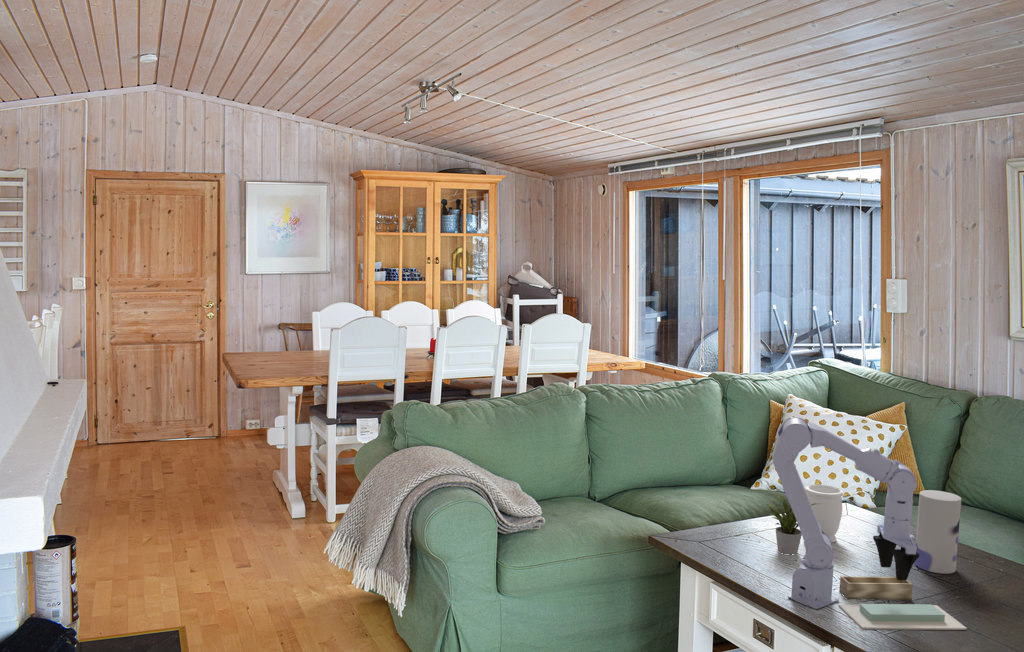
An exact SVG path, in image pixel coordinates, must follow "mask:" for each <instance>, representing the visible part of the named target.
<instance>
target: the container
mask: <svg viewBox="0 0 1024 652" xmlns="http://www.w3.org/2000/svg"><path fill="white" fill-rule="evenodd" d="M961 507H962V497H961V496H960V495H958V494H955V493H952V492H947V491H943V490H933V489H928V490H927V489H926V490H922V491H920V492H919V498H918V507H917V508H918V509H917V510H918V511H917V523H916V524H917V525H916V536H915V545H916V546H917V548H916V552H918V553H919V558H918V559H917V560H916V561H915V562H914V563H915V564H914V565H915V566H916V567H917V566H918V568H919V569H921V570H924V571H926V572H931V573H936V574H953V573H956V570H957V561H958V560H957V559H958V547H959V546H958V545H959V535H960V534H959V533H960V520H961Z"/></svg>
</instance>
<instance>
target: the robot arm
mask: <svg viewBox="0 0 1024 652" xmlns="http://www.w3.org/2000/svg"><path fill="white" fill-rule="evenodd" d="M777 431H778V432H777V435H776V436H777V437H776V441H775V444H774V449H773V452H772V456H771V457H772V463H773V466H774V469H775V470H776V473H777V476H778V479H779V481H780V483H781V485H782V488H783V491H784V493H785V495H786V498H787V501H788V503H789V506H790V505H791V508H792V510H793V513H794V515H795V518H796V520H797V522H796V523H798V525H799V526H798V529H799V530H801V533H802V536H801V538H802V539H803V545H804V549H805V554H804V555H803V556H802V557H801V563H800V565H799V566H798V568H796V569H795V570H794V571H793V573H792V581H791V583H792V584H791V594H789V595H788V596H787V597H788V599H790V598H791V599H790V600H792V599H793V600H792V601H795V602H798V603H800V604H802V605H804V606H807V607H809V608H812V609H814V610H819V609H821V608H824V607H826V606H828V605H832V604H833V603H836V602H839V601H840V598H839V597H836V596H834V595H832V594H833V582H834V581H833V580H834V559H835V552H834V549H833V547H832V543H831V540H830V538H829V536H828V535H827V534H826V533H825V532H824V531H823V530H822V528H821V526H820V524H819V522H818V520H817V518H816V515H815V513H814V510H813V508H812V506H811V503H810V501H809V498H808V496H807V492H806V491H805V486H804V484H803V481H802V479H801V476H800V474H799V471H798V469H797V467H796V464H795V461H796V459H797V457H798V456H799V454H800V453H801V452H802V451H804V450H805V449H806V447H808V445H810V448H812V449H813V448H818V447H819V448H820V447H824V448H826V449H829V450H830V451H833V452H834V453H837V454H838V455H841V456H842V457H844V458H847V459H849V460H851V461H852V462H854V465H855V468H856V469H857V470H858V471H860V472H862V473H864V474H865V475H867V476H869V477H871V478H873V479H875V480H877V481H878V482H880V483H885V484H887V492H886V496H885V505H884V507H885V508H884V516H883V517H884V518H883V524H878V525H877V527H876V528H877V529H876V532H877V533H878V535H873V536H872V538H873V541H874V544H875V546H876V549H877V552H878V558H879V565H880V567H881V568H891V567H892V565H893V558H894V563H895V577H896V578H897V580H908V577H909V574H910V572H911V570H912V567H913V565H915V564H914V562H915V561H916V560H917V559H918V558H919V553H918V552H916V548H917V546H916V544H915V543H914V541H913V540H916V536H915V535H913V534H911V526H912V516H913V505H914V504H913V503H914V499H913V496H914V492H915V490H916V489H917V487H918V482H917V479H916V476H915V474H914V473H913V471H912V470H911V469H910V467H908V466H906V464H904V463H902V462H900V460H897V459H894V460H893V459H891V458H889V457H887V456H886V455H883V454H881V450H879V449H878V448H877V447H876V448H875V447H874V448H873V449H872V448H870V447H867V448H859V447H857V446H856V445H853V444H852V443H850V442H848V441H846V440H845V439H843V438H841V437H840V436H838V435H836V434H834V433H833V432H831V431H830V430H827V429H825V428H824V427H821V426H820V425H818V424H816V423H814V422H811V421H807V420H805V419H804V418H802V417H799V416H791V417H789V418H787V419H786V420H784V422H783V423H782V425H781V426H780V427H779V428H778V430H777ZM897 546H898V547H899V548H900V549H897V548H896V547H897Z"/></svg>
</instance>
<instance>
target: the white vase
mask: <svg viewBox="0 0 1024 652" xmlns="http://www.w3.org/2000/svg"><path fill="white" fill-rule="evenodd" d="M804 488H805V491H806V493H807V496H808V498H809V501H810V503H811V504H815V503H819V504H815V505H813V506H812V508H813V510H814V513H815V515H816V518H817V520H818V522H819V524H820V526H821V528H822V530H823V531H824V532H825V533H826V534H827V535H828V536H829V538H830V540H831V544H832V543H835V542H837V537H836V534H837V532H838V531H839V528H840V523H841V520H842V515H843V500H842V497H843V496H844V491H843V489H841V488H838V487H835V486H831V485H825V484H807V485H806V486H804Z"/></svg>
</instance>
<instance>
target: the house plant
mask: <svg viewBox="0 0 1024 652" xmlns="http://www.w3.org/2000/svg"><path fill="white" fill-rule="evenodd" d="M776 496H777V497H779V500H780V501H781V503H782V505H783V509H782V508H781V507H780V506H779V505H778V504H777V503H776V502H775V501H773V500H772V499H770V498H768V500H769V501H771V502H772V503H773V504H774V506H775V507H776V508H777V509H776V508H774V507H773V506H772V505H771V504H769V503H767V504H766V505H767V506H768V508H769V509H770V511H771V512H772V513H770V514H768V516H771V518H772V519H776V520H778V521H779V522H776V523H775V525H774V526H776V525H779V526H777V527H776V528H775V536H776V545H777V546H776V547H777V552H778V551H779V552H780V553H779V552H778V553H779V554H781V553H783V554H782V555H784V554H789V555H788V556H793V555H792V554H797V555H798V552H799V548H800V545H801V544H800V543H801V540H802V533H801V530H800V528H799V525H798V523H797V520H796V518H795V515H794V513H793V510H792V508H791V505H790V504H789V506H788V503H787V501H786V500H785V499H784V497H782V496H780V495H779V494H776ZM815 504H819V503H815ZM815 504H811V506H813V505H815Z"/></svg>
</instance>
